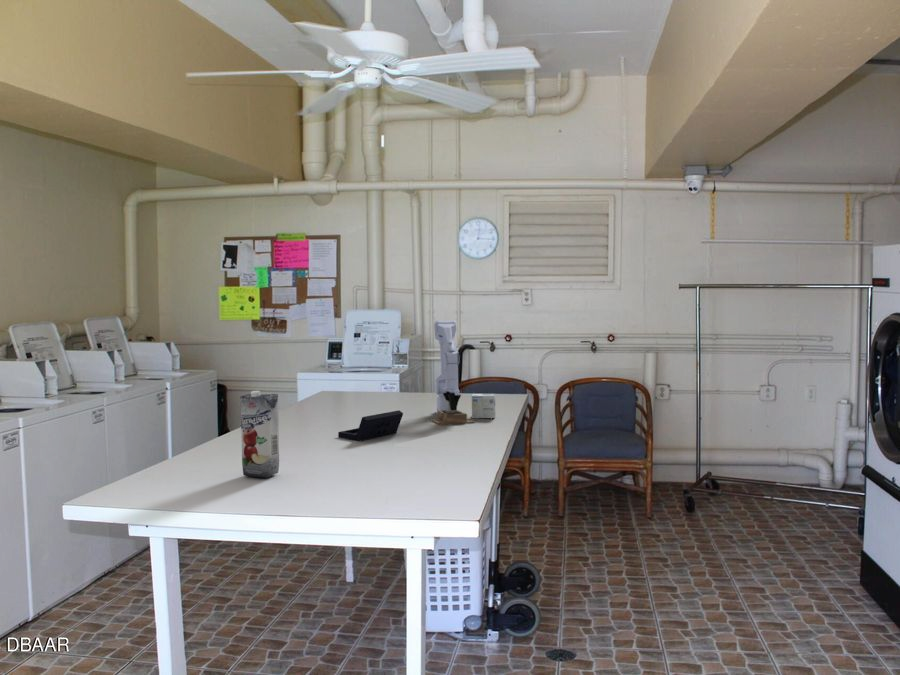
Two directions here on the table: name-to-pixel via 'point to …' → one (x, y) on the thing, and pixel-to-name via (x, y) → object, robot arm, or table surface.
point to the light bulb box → (483, 406)
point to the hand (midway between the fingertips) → (451, 409)
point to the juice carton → (260, 434)
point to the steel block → (449, 408)
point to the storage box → (374, 426)
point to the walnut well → (451, 418)
